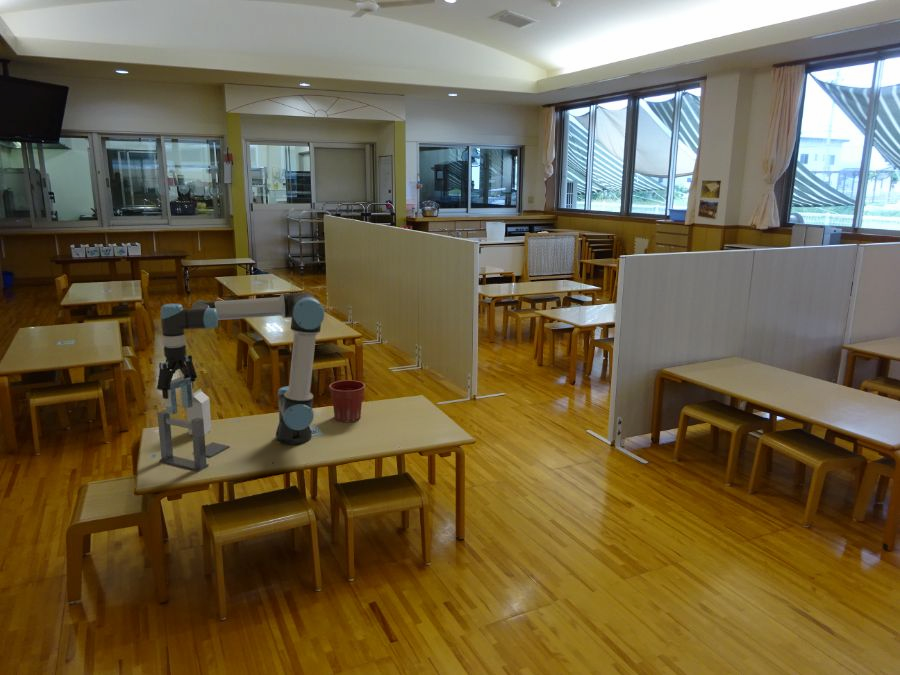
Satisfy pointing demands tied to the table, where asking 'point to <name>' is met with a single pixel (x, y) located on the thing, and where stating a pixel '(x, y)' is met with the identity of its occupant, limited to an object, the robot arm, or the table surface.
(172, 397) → the bracket
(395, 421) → the table surface
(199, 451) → the rail
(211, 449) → the mat
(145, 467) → the table surface
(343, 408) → the flower pot
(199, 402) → the milk carton
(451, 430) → the table surface
